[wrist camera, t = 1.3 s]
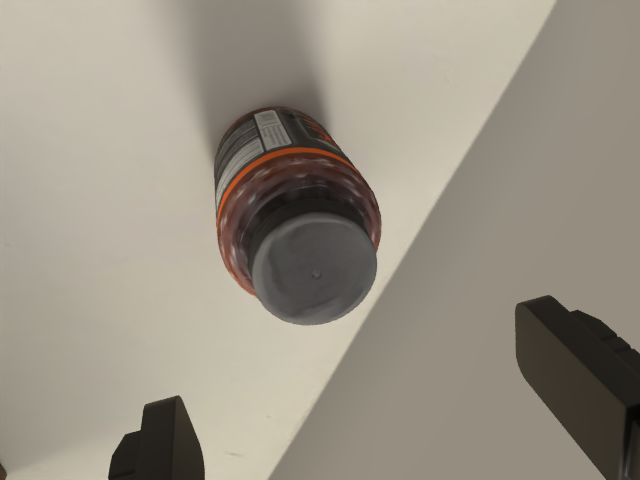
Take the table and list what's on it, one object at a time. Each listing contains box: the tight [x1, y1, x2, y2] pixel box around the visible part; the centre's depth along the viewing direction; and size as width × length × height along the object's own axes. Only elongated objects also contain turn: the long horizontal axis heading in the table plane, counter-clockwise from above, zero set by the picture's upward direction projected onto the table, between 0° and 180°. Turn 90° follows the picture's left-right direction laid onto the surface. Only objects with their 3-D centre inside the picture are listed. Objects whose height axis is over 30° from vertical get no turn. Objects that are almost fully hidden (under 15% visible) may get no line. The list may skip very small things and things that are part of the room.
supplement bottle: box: [214, 107, 381, 325], centre depth 22 cm, size 6×6×11 cm
